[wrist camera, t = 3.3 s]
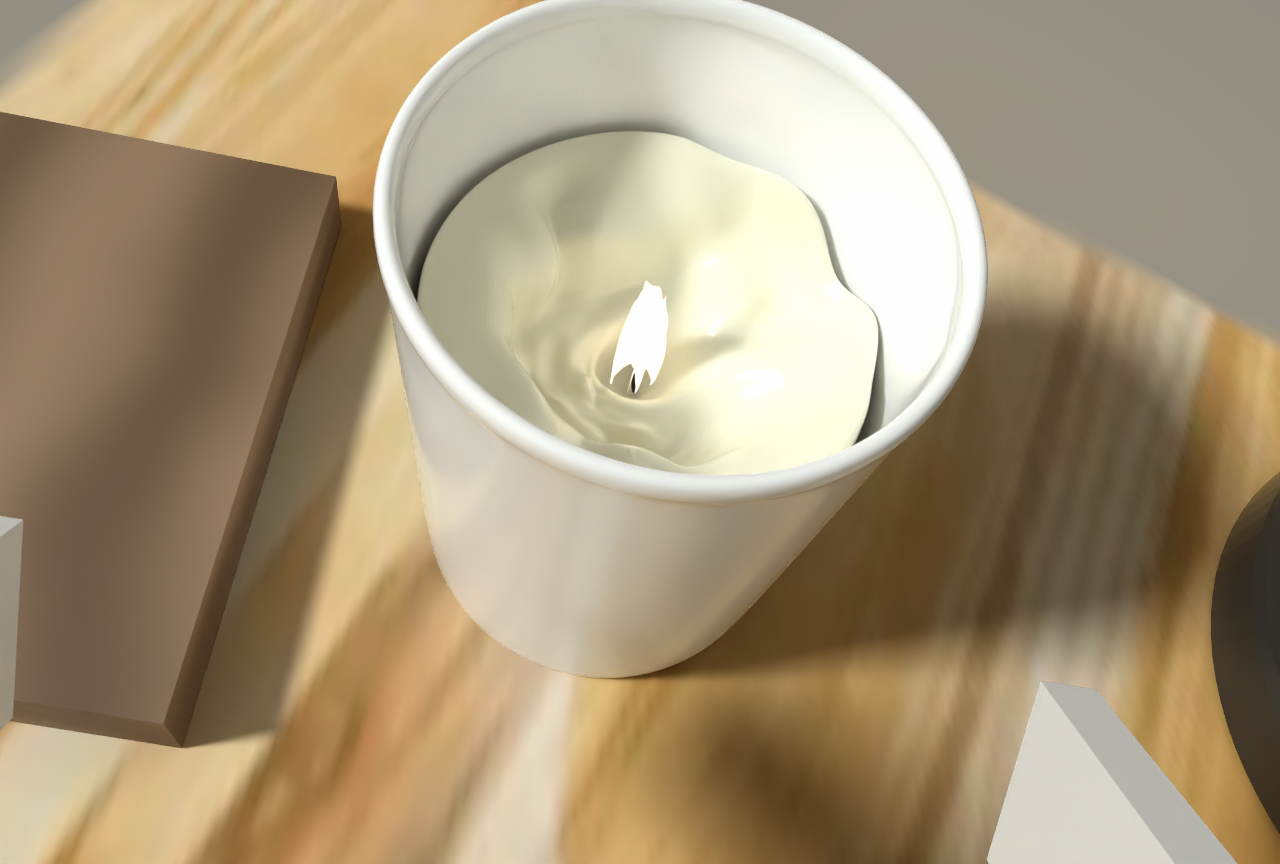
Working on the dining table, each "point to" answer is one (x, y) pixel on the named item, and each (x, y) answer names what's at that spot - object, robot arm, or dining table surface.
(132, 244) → the walnut board
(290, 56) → the dining table surface
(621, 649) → the candle holder
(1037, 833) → the robot arm
